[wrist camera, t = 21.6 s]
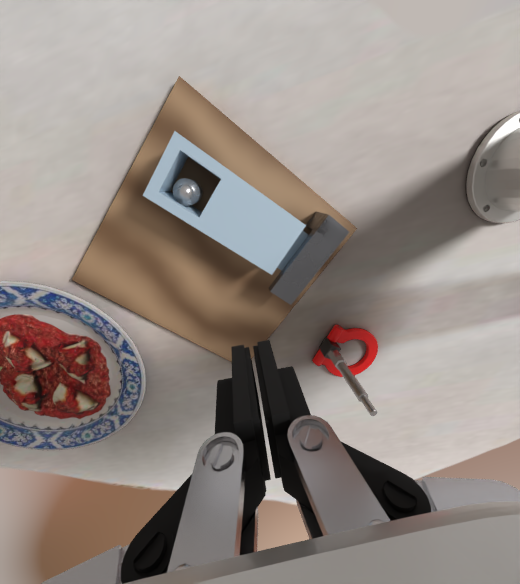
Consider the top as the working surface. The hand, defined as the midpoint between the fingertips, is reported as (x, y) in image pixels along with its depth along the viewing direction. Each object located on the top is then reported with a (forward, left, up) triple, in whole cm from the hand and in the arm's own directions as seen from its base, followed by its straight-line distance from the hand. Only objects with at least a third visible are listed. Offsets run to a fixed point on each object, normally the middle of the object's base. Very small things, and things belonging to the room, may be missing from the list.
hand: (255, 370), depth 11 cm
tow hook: (+3, +22, -22) cm, 32 cm away
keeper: (-4, +6, -21) cm, 22 cm away
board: (+1, -2, -22) cm, 22 cm away
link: (-4, -2, -21) cm, 22 cm away
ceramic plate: (+27, -12, -23) cm, 37 cm away
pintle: (-3, -8, -22) cm, 24 cm away
